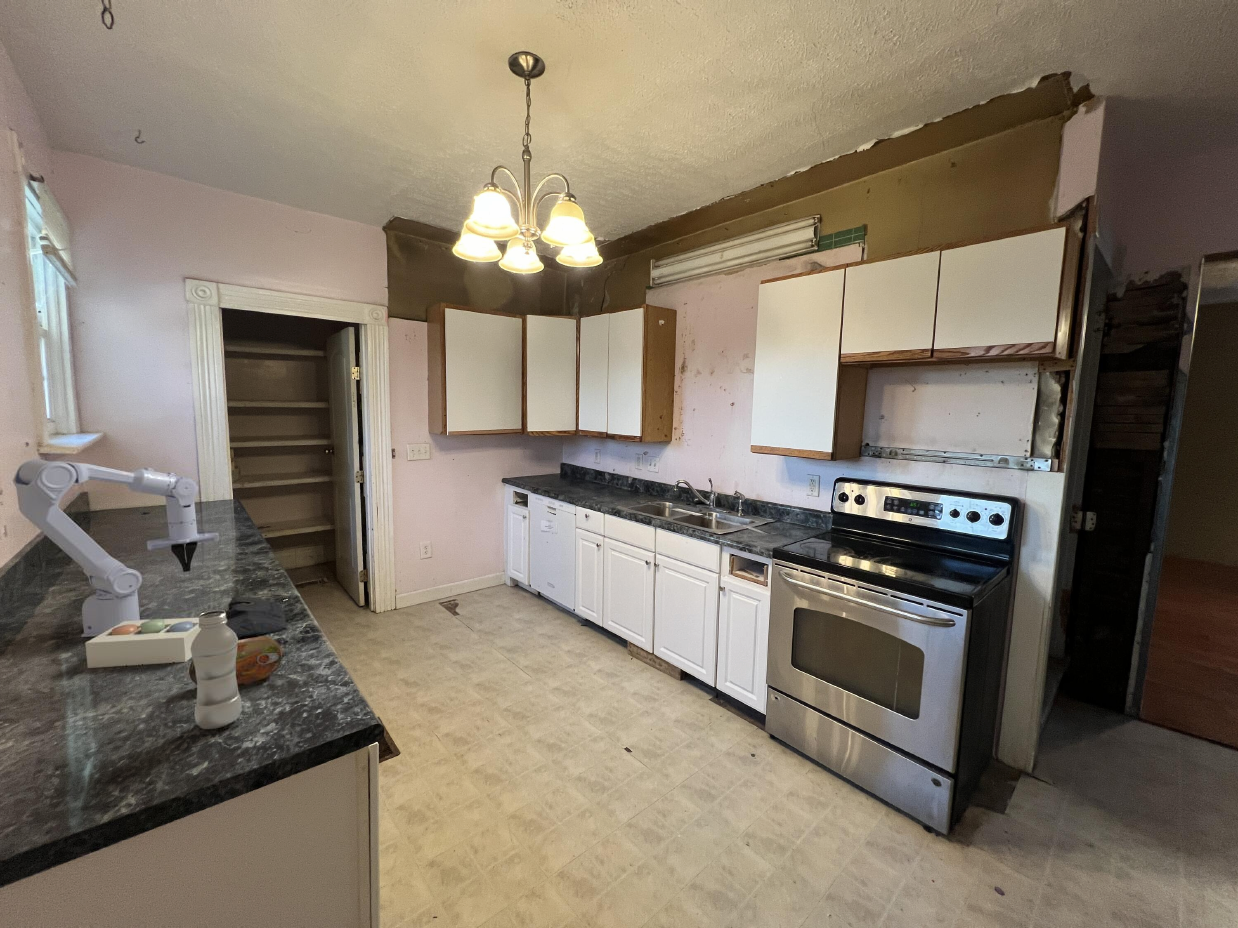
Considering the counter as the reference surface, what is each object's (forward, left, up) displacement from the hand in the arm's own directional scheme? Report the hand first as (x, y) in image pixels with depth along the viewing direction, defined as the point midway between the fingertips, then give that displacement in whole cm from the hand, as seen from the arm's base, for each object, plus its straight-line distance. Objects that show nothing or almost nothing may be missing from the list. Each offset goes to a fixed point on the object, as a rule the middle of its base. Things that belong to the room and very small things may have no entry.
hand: (187, 570), depth 140 cm
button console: (+8, -27, -10) cm, 30 cm away
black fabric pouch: (+20, -12, -11) cm, 26 cm away
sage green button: (+8, -27, -6) cm, 29 cm away
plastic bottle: (+36, -57, -11) cm, 68 cm away
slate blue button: (+13, -27, -7) cm, 31 cm away
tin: (+32, -42, -11) cm, 54 cm away
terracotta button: (+2, -27, -7) cm, 28 cm away
